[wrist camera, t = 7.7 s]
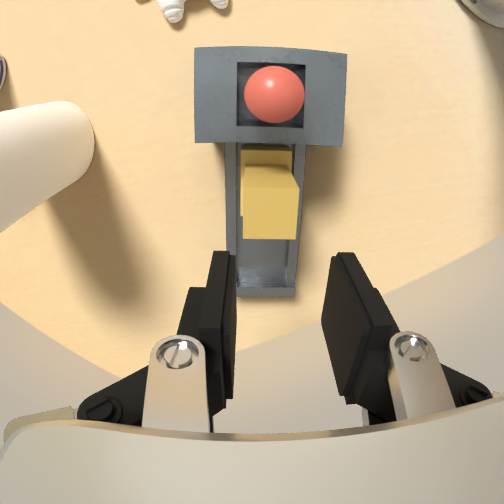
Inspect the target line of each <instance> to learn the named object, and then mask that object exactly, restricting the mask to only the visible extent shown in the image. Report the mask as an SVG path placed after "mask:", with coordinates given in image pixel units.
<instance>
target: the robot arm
mask: <svg viewBox="0 0 504 504" xmlns="http://www.w3.org/2000/svg"><path fill="white" fill-rule="evenodd" d="M461 1H462V2H463V3H464V4H465V5H466V6H467V7H468V8H469V9H470V10H471V11H472V12H473V13H474V14H475V15H477V16H478V17H479V18H480V19H482V20H484V21H485V22H487V23H489V24H491V25H493V26H496V27H500V28H504V0H461ZM236 323H237V312H236V255H230V251H214V252H213V256H212V261H211V265H210V270H209V275H208V280H207V285H206V287H190V288H189V291H188V294H187V298H186V301H185V305H184V309H183V312H182V316H181V320H180V324H179V327H178V331H177V335H174V336H169V337H166V338H164V339H162V340H160V341H159V342H157V343H156V345H155V346H154V347H153V348H152V351H151V354H150V361H149V365H148V366H146V367H144V368H142V369H140V370H139V371H137V372H135V373H133V374H131V375H129V376H127V377H125V378H124V379H122V380H120V381H118V382H116V383H114V384H112V385H110V386H109V387H106V388H104V389H103V390H101V391H99V392H97V393H95V394H93V395H91V396H89V397H88V398H87V399H85V400H84V401H83V402H82V403H81V405H80V406H79V408H77V409H72V407H71V406H69V407H65V408H60V409H56V410H51V411H47V412H42V413H37V414H32V415H27V416H22V417H18V418H15V419H13V420H12V421H11V422H9V423H8V425H7V426H6V428H5V430H4V444H3V446H2V447H1V449H0V504H504V393H500V392H495V391H493V392H492V394H491V393H490V391H489V390H488V388H487V387H486V386H485V385H483V384H482V383H480V382H478V381H476V380H474V379H472V378H470V377H468V376H465V375H464V374H461V373H459V372H457V371H455V370H453V369H451V368H449V367H447V366H445V365H443V364H441V363H440V362H439V359H438V357H437V354H436V352H435V349H434V347H433V346H432V344H431V342H430V341H429V340H427V338H426V337H424V336H422V335H420V334H418V333H414V332H409V331H405V332H400V330H399V328H398V326H397V324H396V322H395V320H394V319H393V317H392V315H391V313H390V311H389V309H388V307H387V305H386V304H385V302H384V300H383V298H382V296H381V295H380V293H379V291H378V290H377V288H373V286H372V284H371V282H370V280H369V279H368V277H367V275H366V273H365V271H364V270H363V268H362V266H361V264H360V263H359V261H358V259H357V257H356V256H355V254H354V253H352V252H338V253H337V255H336V256H332V258H331V263H330V269H329V276H328V282H327V288H326V294H325V300H324V305H323V311H322V317H321V324H322V329H323V332H324V336H325V340H326V344H327V348H328V351H329V355H330V360H331V364H332V367H333V372H334V375H335V380H336V384H337V388H338V392H339V395H340V396H344V397H345V400H346V404H347V405H348V404H358V405H360V406H362V419H363V427H355V428H347V429H337V430H327V431H315V432H300V433H277V434H228V433H227V434H226V433H214V420H213V416H214V415H215V414H217V413H218V412H219V411H221V410H222V409H223V408H226V399H233V385H234V364H235V344H236Z"/></svg>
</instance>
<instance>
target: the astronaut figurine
mask: <svg viewBox="0 0 504 504" xmlns="http://www.w3.org/2000/svg"><path fill="white" fill-rule="evenodd" d="M185 1H187V0H157V3H158V5H159V8H160V10H161V11H162V12H163V13H164V15H165V17H166V18H167V19H168V21H169V22H171V23H176V22H178V21H180V20H181V19H182V18H183V13H184V4H185ZM210 1H211V3H212V4H213V5H214V6H215V7H217V8H219V9H224V8H226V7H227V6H228V0H210Z"/></svg>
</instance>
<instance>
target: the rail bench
mask: <svg viewBox="0 0 504 504" xmlns="http://www.w3.org/2000/svg"><path fill="white" fill-rule="evenodd" d="M268 66H280V67H284V68H286V69H289V70H290V71H292V72H293V73H295V74H296V75H297V76H298V78H299V79H300V81H301V82H302V84H303V87H304V92H305V98H304V103H303V105H302V108H301V109H300V111H299V112H298V113H297V114H296V115H295V116H294V117H293V118H291V119H289V120H287V121H285V122H280V123H270V122H265V121H263V120H261V119H259V118H257V117H256V116H255V115H253V114H252V113H251V111H250V110H249V109H248V107H247V105H246V102H245V98H244V90H245V86H246V83H247V81H248V79H249V78H250V77H251V76H252V75H253V74H254V73H255V72H256V71H258V70H259V69H262V68H264V67H268ZM346 73H347V54H342V53H335V52H327V51H318V50H308V49H297V48H281V47H255V46H227V47H200V48H195V50H194V121H195V143H224V142H225V188H226V249H227V251H230V255H236V297H294V296H295V277H296V267H297V257H298V246H299V235H300V223H301V211H302V198H303V184H304V170H305V154H306V145H321V146H334V147H342V142H343V129H344V114H345V96H346ZM242 145H248V146H286V147H289V148H290V149H291V151H292V166H291V173H292V175H293V177H294V179H295V181H296V183H297V185H298V187H299V202H298V215H297V228H296V239H243V216H240V212H241V147H242Z"/></svg>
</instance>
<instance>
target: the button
mask: <svg viewBox="0 0 504 504" xmlns="http://www.w3.org/2000/svg"><path fill="white" fill-rule="evenodd" d="M244 98H245V102H246V105H247V107H248V109H249V110H250V111H251V113H252V114H253V115H255V116H256V117H257V118H259V119H261V120H263V121H265V122H270V123H280V122H285V121H287V120H289V119H291V118H293V117H294V116H295V115H296V114H297V113H298V112H299V111H300V109H301V108H302V105H303V103H304V98H305V92H304V87H303V84H302V82H301V81H300V79H299V78H298V76H297V75H296V74H295V73H293V72H292V71H290V70H289V69H286V68H284V67H280V66H268V67H264V68H262V69H259V70H258V71H256V72H255V73H254V74H253V75H252V76H251V77H250V78H249V79H248V81H247V83H246V86H245V90H244Z"/></svg>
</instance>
